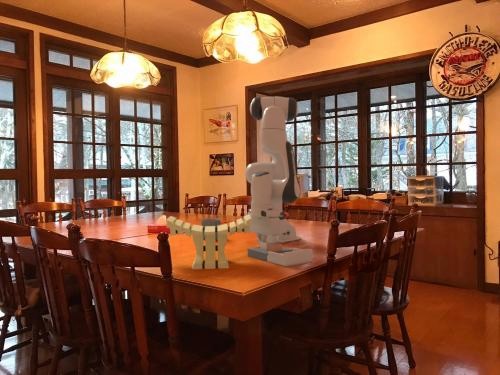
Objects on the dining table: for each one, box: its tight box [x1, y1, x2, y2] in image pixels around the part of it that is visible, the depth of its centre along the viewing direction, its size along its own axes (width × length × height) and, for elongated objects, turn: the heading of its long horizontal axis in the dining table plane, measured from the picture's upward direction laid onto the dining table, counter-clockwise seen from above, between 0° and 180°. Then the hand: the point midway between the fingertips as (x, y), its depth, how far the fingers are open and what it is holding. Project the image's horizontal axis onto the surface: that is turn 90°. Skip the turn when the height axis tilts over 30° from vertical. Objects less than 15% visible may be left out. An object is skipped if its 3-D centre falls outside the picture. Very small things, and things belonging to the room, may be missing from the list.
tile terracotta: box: [267, 242, 284, 252], centre depth 162 cm, size 4×4×2 cm
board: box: [247, 246, 293, 262], centre depth 164 cm, size 13×13×3 cm
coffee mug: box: [200, 217, 222, 241], centre depth 213 cm, size 13×10×10 cm
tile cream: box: [259, 241, 276, 250], centre depth 165 cm, size 4×4×2 cm
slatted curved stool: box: [166, 213, 252, 270], centre depth 152 cm, size 30×16×18 cm, turn 95°
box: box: [266, 247, 313, 268], centre depth 154 cm, size 13×11×5 cm
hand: (262, 244), depth 168 cm, fingers closed
